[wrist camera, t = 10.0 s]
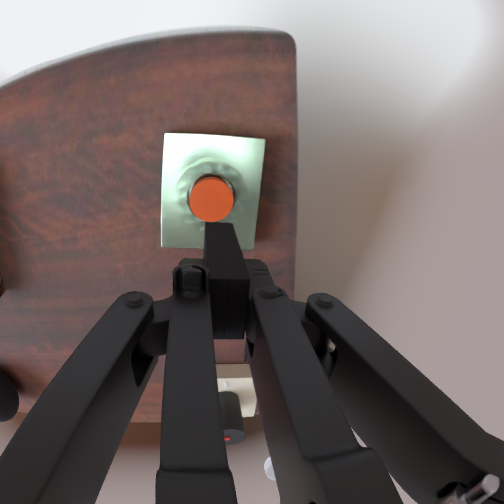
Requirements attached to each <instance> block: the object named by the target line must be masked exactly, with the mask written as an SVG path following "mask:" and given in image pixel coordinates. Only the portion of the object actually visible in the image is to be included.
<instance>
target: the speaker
mask: <svg viewBox="0 0 504 504" xmlns="http://www.w3.org/2000/svg"><path fill="white" fill-rule="evenodd" d="M18 407H19V396H18V392H17V389H16V387H15V385H14V383H13V382H12V381H11V379H10V378H9V377H8V376H6V375H5V374H4V373H2V372H0V422H4V421H8V420H10V419H12V418H13V417H14V415H15V414H16V413H17V410H18Z"/></svg>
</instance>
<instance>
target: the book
mask: <svg viewBox="0 0 504 504" xmlns="http://www.w3.org/2000/svg"><path fill="white" fill-rule="evenodd" d="M4 291H5V289H4V286H3V283H2V280H1V276H0V297H1V296H2V294H3V293H4Z"/></svg>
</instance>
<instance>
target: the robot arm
mask: <svg viewBox="0 0 504 504" xmlns="http://www.w3.org/2000/svg"><path fill="white" fill-rule="evenodd" d="M245 332H246V336H247V337H246V346H245V354H244V361H247V357H248V361H249V366H250V371H251V375H252V380H253V384H254V389H255V393H256V398H257V402H258V407H259V411H260V415H261V420H262V424H263V428H264V432H265V437H266V441H267V445H268V449H269V454H270V458H271V462H272V466H273V470H274V474H275V478H276V482H277V486H278V490H279V494H280V504H403V502H402V500H401V498H400V496H399V494H398V491H397V489H396V487H395V485H394V483H393V481H392V479H391V477H390V475H391V476H392V477H393V478H394V479H395V480H396V482H397V483H398V484H399V485H400V486H401V487H402V489H403V490H404V491H405V492H406V493H407V494H408V495H409V496H410V497H411V498H412V499H413V500H415V501H416V502H417V503H418V504H504V441H503V440H500V439H498V438H496V437H494V436H492V435H490V434H488V433H486V432H485V431H484V430H483V429H482V428H481V427H480V426H479V425H478V424H477V423H476V422H474V420H472V419H471V418H470V417H469V416H468V415H467V414H466V413H465V412H464V411H463V410H462V409H461V408H460V407H458V406H457V405H456V404H455V403H454V402H453V401H452V400H451V399H450V398H449V397H448V396H447V395H445V394H444V393H443V392H442V391H441V390H440V389H439V388H438V387H437V386H435V385H434V384H433V383H432V382H431V381H430V380H429V379H428V378H427V377H425V376H424V375H423V374H422V373H421V372H420V371H419V370H418V369H417V368H416V367H414V366H413V365H412V364H411V363H410V362H409V361H408V360H407V359H405V358H404V357H403V356H402V355H401V354H400V353H399V352H398V351H396V350H395V349H394V348H393V347H392V346H391V345H390V344H389V343H388V342H386V341H385V340H384V339H383V338H382V337H381V336H380V335H379V334H377V333H376V332H375V331H374V330H373V329H372V328H371V327H369V326H368V325H367V324H366V323H365V322H364V321H363V320H361V319H360V318H359V317H358V316H357V315H356V314H354V313H353V312H352V311H351V310H350V309H349V308H347V307H346V306H345V305H344V304H343V303H341V301H339V300H338V299H337V298H335V297H333V296H331V295H329V294H326V293H325V294H324V293H317V294H316V293H315V294H312V295H310V296H309V297H308V300H307V303H304V302H298V301H293V300H290V299H289V297H288V295H287V293H286V292H285V291H284V290H283V289H281V288H280V287H277V286H275V284H274V281H273V279H272V277H271V275H270V273H269V271H268V268H267V266H266V264H265V263H263V262H262V261H261V260H256V259H244V258H243V255H242V251H241V248H240V245H239V242H238V239H237V236H236V233H235V229H234V226H233V223H223V222H205V234H204V256H203V259H195V258H184V259H183V260H182V261H180V262H179V266H177V267H176V268H174V270H173V295H172V296H170V297H169V298H166V299H164V300H160V301H153V299H152V297H151V296H150V295H148V294H147V293H143V292H137V291H133V292H128V293H125V294H123V295H121V296H120V297H119V298H117V300H116V301H115V302H114V303H113V304H112V305H111V307H110V308H109V309H108V310H107V311H106V313H105V314H104V315H103V316H102V317H101V319H100V320H99V321H98V322H97V323H96V325H95V326H94V327H93V328H92V330H91V331H90V332H89V333H88V334H87V336H86V337H85V338H84V339H83V341H82V342H81V343H80V344H79V346H78V347H77V348H76V350H75V351H74V352H73V353H72V355H71V356H70V357H69V359H68V360H67V361H66V362H65V364H64V365H63V366H62V368H61V369H60V370H59V372H58V373H57V374H56V376H55V377H54V378H53V380H52V381H51V382H50V384H49V385H48V386H47V388H46V389H45V391H44V392H43V393H42V395H41V396H40V398H39V399H38V400H37V402H36V403H35V405H34V406H33V407H32V409H31V410H30V412H29V413H28V415H27V416H26V418H25V419H24V421H23V422H22V424H21V425H20V427H19V428H18V430H17V431H16V433H15V434H14V436H13V437H12V439H11V441H10V442H9V444H8V445H7V447H6V449H5V450H4V452H3V453H2V455H1V456H0V504H95V502H96V499H97V497H98V494H99V492H100V489H101V487H102V485H103V482H104V480H105V477H106V475H107V473H108V470H109V468H110V465H111V463H112V461H113V458H114V456H115V454H116V451H117V449H118V447H119V445H120V442H121V440H122V438H123V435H124V433H125V431H126V429H127V426H128V424H129V422H130V420H131V418H132V415H133V413H134V411H135V409H136V407H137V404H138V402H139V400H140V398H141V396H142V393H143V391H144V389H145V387H146V385H147V383H148V381H149V378H150V376H151V374H152V372H153V370H154V368H155V366H156V364H157V362H158V357H159V356H160V355H165V354H166V360H165V372H164V385H163V400H162V418H161V444H160V445H161V446H160V468H159V470H158V471H157V474H156V487H155V488H156V504H238V503H237V497H236V491H235V486H234V480H233V476H232V473H231V471H230V469H229V466H228V460H227V454H226V446H225V439H224V431H223V424H222V416H221V408H220V399H219V390H218V381H217V372H216V362H215V352H214V342H213V339H244V333H245ZM331 341H332V342H333V343H334V344H335V346H336V347H335V350H332V349H331V348H330V347H329V346H330V343H331ZM350 426H351V427H350ZM351 428H352V429H353V430H354V431H355V432H356V434H357V435H358V436H359V437H360V439H361V440H362V441H363V442H364V443H365V445H366V446H367V447H362V446H360V445H359V443H358V442H357V440H356V438H355V435H354V433H353V431H352V429H351ZM388 472H389V473H390V475H389V473H388Z"/></svg>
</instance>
